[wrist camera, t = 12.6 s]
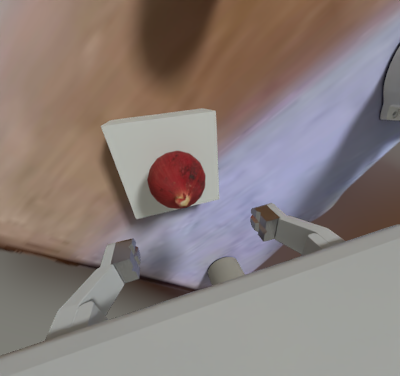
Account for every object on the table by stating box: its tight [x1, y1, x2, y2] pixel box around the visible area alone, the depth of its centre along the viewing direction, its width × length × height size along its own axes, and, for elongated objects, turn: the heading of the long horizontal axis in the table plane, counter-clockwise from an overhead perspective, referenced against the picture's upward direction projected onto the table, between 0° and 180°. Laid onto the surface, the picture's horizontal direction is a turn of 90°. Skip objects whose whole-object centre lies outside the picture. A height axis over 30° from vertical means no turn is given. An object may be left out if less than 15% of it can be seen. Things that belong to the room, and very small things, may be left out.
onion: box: [147, 151, 206, 209], centre depth 17 cm, size 6×6×8 cm
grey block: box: [101, 109, 219, 219], centre depth 22 cm, size 12×12×5 cm
